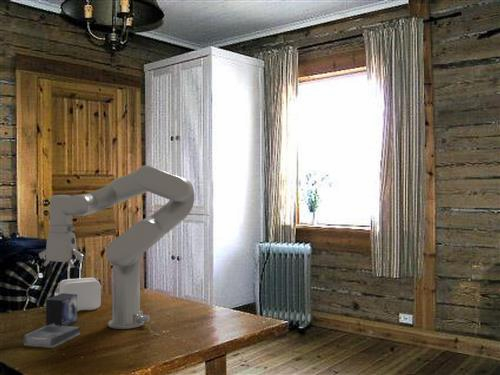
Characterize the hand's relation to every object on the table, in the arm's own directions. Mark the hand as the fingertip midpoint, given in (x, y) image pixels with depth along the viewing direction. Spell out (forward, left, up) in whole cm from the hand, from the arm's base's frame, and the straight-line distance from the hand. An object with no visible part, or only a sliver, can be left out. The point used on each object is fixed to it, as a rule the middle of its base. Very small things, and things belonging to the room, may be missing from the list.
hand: (60, 277), depth 180 cm
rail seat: (-7, +15, -17) cm, 24 cm away
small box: (0, 0, -17) cm, 17 cm away
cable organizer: (+8, -24, -17) cm, 31 cm away
